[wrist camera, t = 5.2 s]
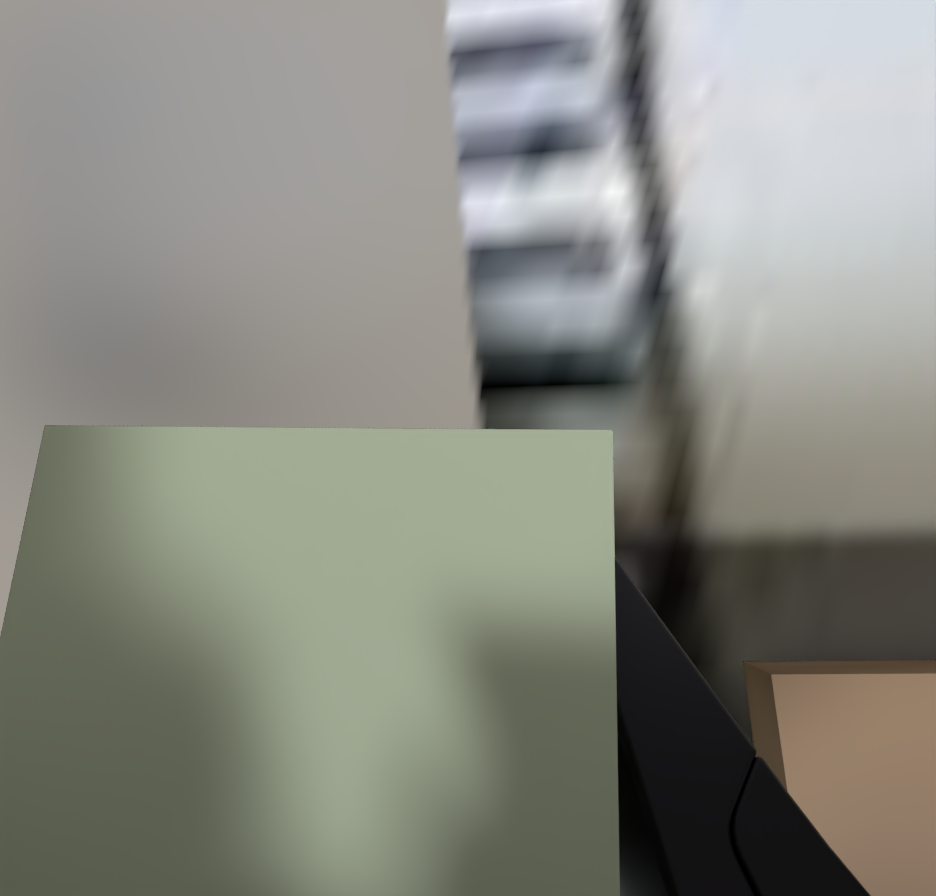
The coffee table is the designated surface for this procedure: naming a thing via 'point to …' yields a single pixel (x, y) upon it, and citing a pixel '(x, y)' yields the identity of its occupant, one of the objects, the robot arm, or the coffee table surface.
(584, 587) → the sage block
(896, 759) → the tan square board
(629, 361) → the coffee table surface
